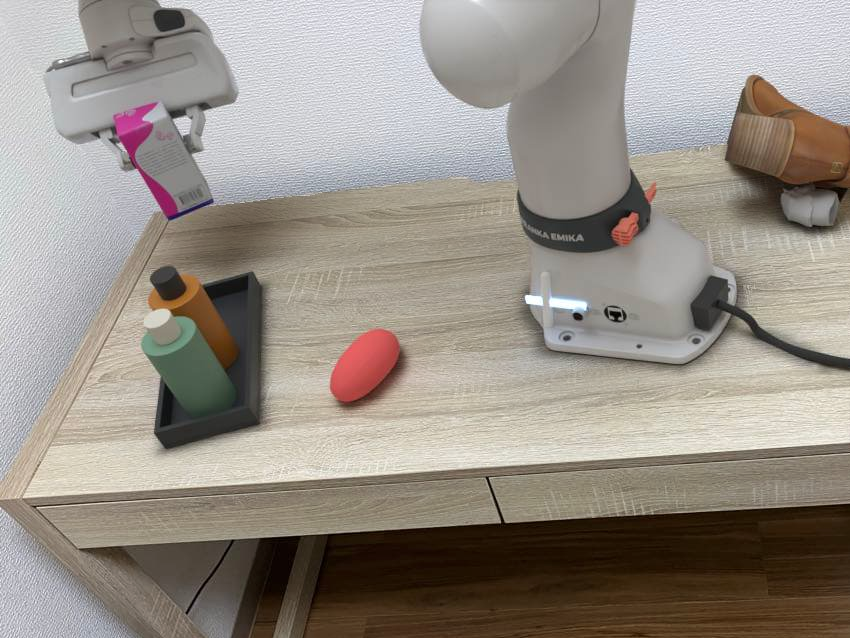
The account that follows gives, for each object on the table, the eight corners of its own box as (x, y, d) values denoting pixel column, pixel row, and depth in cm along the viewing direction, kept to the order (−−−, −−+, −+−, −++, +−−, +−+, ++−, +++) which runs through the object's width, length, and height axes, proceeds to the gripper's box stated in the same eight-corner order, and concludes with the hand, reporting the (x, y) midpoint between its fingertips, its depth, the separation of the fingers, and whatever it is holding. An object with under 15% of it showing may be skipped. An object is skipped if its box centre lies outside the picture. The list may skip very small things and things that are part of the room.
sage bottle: (247, 390, 98) (196, 305, 89) (212, 427, 95) (155, 344, 86) (211, 377, 101) (157, 293, 92) (176, 413, 98) (117, 330, 89)
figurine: (847, 220, 101) (817, 240, 99) (791, 196, 106) (761, 215, 104) (849, 190, 98) (818, 210, 96) (791, 167, 103) (761, 186, 101)
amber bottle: (248, 347, 103) (200, 262, 94) (215, 381, 100) (162, 297, 91) (214, 335, 105) (163, 252, 96) (180, 368, 103) (125, 286, 93)
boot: (729, 130, 119) (873, 164, 116) (713, 197, 99) (887, 239, 97) (748, 60, 113) (900, 94, 111) (736, 115, 94) (920, 158, 92)
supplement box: (206, 179, 110) (161, 94, 102) (215, 203, 106) (169, 116, 98) (160, 198, 109) (110, 113, 101) (168, 222, 105) (117, 136, 97)
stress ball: (424, 378, 97) (408, 322, 95) (353, 408, 91) (336, 348, 90) (397, 377, 101) (381, 322, 99) (328, 405, 95) (310, 347, 94)
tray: (180, 308, 111) (170, 292, 109) (261, 286, 111) (253, 270, 109) (165, 449, 95) (153, 433, 93) (259, 423, 95) (249, 407, 93)
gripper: (24, 55, 99) (60, 178, 100) (205, 6, 99) (240, 129, 100) (54, 74, 106) (87, 190, 106) (224, 28, 106) (257, 144, 106)
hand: (163, 160), depth 103 cm, fingers closed on supplement box, 6 cm apart
